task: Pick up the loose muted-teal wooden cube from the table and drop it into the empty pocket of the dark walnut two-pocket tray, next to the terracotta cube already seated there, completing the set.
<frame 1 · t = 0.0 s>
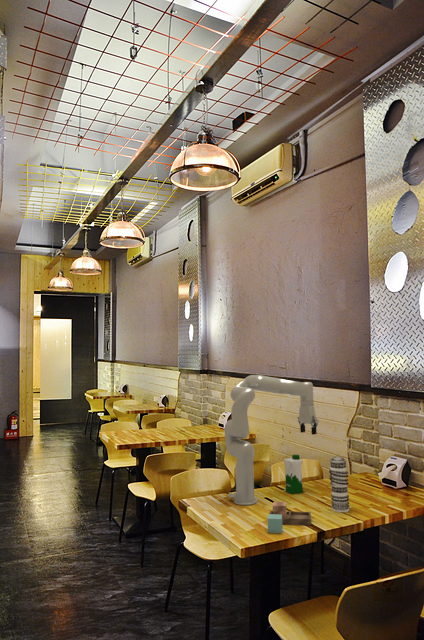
hand: (308, 433, 272), 31 cm above the table, tool pointing down, fingers open, 9 cm apart
walnut tray: (290, 520, 216), on the table
decorative candle: (340, 509, 230), on the table
teal cube: (275, 530, 205), on the table
milk carton: (294, 492, 263), on the table
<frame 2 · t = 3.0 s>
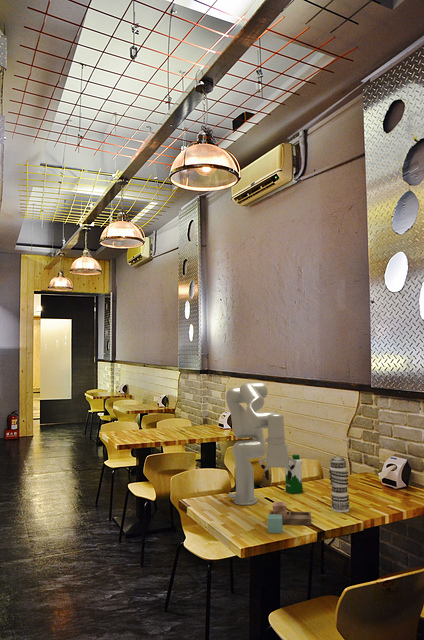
hand: (278, 479, 212), 20 cm above the table, tool pointing down, fingers open, 9 cm apart
nothing on the table moved.
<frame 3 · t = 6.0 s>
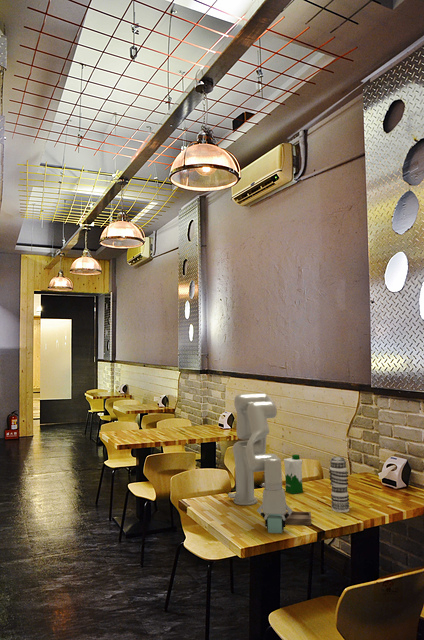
hand: (275, 528, 205), 1 cm above the table, tool pointing down, fingers closed on teal cube, 6 cm apart
teal cube: (275, 530, 205), on the table, touching gripper
everything else where it was.
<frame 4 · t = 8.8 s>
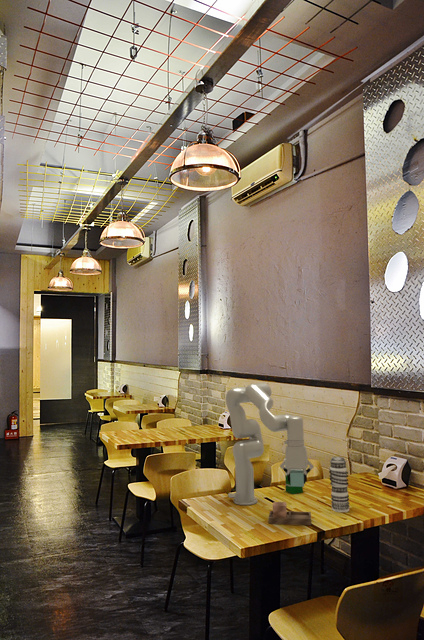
hand: (297, 482, 217), 17 cm above the table, tool pointing down, fingers closed on teal cube, 6 cm apart
teal cube: (297, 484, 217), point 16 cm above the table, touching gripper
everything else where it was.
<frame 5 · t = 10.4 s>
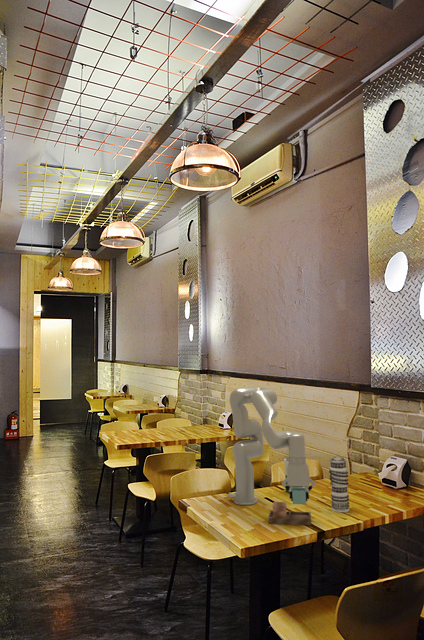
hand: (299, 500, 216), 9 cm above the table, tool pointing down, fingers closed on teal cube, 6 cm apart
teal cube: (299, 502, 216), point 8 cm above the table, touching gripper
everything else where it was.
when the fingers open (5 cm above the table, at t = 11.8 s): teal cube drops 2 cm, resting on walnut tray.
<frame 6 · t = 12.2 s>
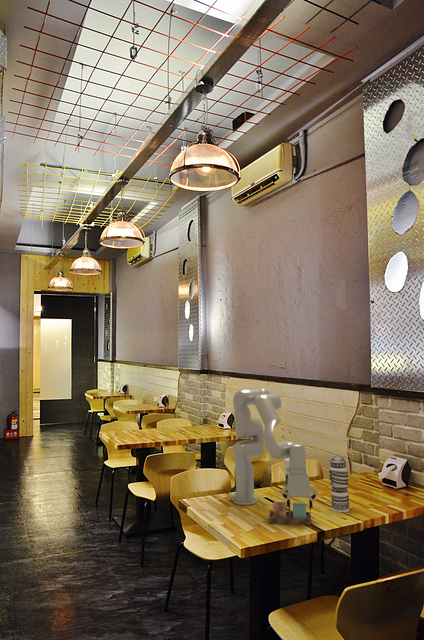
hand: (299, 508, 216), 6 cm above the table, tool pointing down, fingers open, 9 cm apart
teal cube: (299, 517, 216), point 1 cm above the table, touching walnut tray
everything else where it was.
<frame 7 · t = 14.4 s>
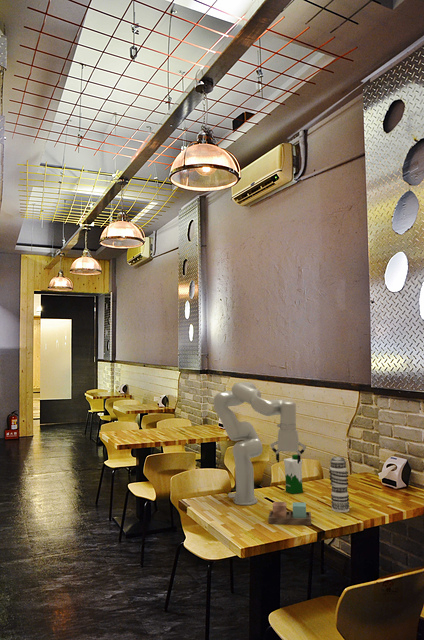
hand: (288, 462, 228), 24 cm above the table, tool pointing down, fingers open, 9 cm apart
nothing on the table moved.
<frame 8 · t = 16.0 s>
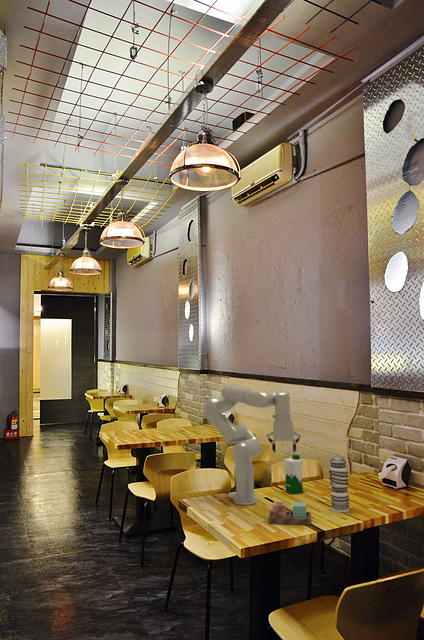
hand: (284, 452, 234), 28 cm above the table, tool pointing down, fingers open, 9 cm apart
nothing on the table moved.
at the end: teal cube 0.0 cm from the target spot on the walnut tray, point 1.5 cm above the walnut tray's base; teal cube tilted 0°; the gripper is holding nothing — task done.
